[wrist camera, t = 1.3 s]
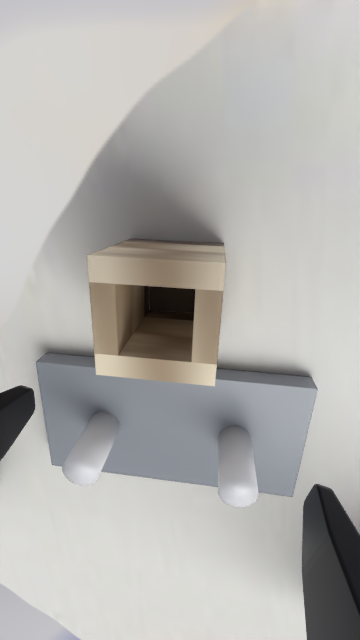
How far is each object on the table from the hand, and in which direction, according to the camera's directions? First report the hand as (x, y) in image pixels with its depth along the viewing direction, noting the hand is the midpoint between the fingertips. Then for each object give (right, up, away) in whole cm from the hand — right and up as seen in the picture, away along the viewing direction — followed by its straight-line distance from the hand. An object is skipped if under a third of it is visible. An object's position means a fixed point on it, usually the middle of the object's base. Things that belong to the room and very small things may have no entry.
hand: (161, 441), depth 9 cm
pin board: (0, -4, +15) cm, 16 cm away
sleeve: (0, +6, +11) cm, 13 cm away
